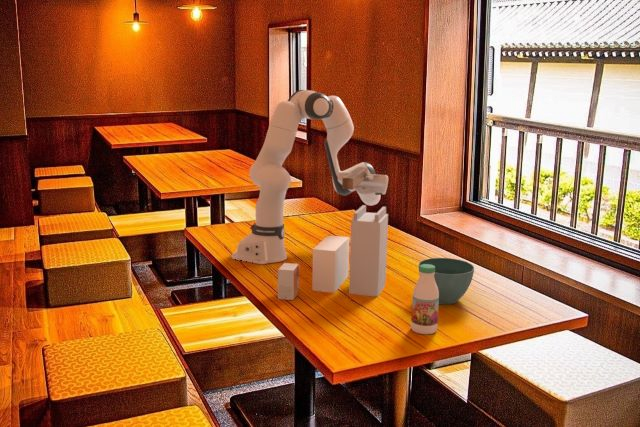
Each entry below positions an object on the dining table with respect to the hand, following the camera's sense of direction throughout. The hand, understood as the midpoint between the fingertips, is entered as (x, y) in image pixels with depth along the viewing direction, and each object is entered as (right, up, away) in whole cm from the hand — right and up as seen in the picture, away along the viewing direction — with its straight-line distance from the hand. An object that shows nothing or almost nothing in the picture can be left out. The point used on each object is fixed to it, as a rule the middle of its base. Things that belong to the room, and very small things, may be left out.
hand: (359, 172), depth 257 cm
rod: (-2, -4, -6) cm, 8 cm away
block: (-12, -41, -18) cm, 46 cm away
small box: (-26, -44, -33) cm, 61 cm away
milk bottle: (+16, -51, -60) cm, 80 cm away
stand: (+1, -42, -24) cm, 49 cm away
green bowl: (+26, -45, -34) cm, 63 cm away
